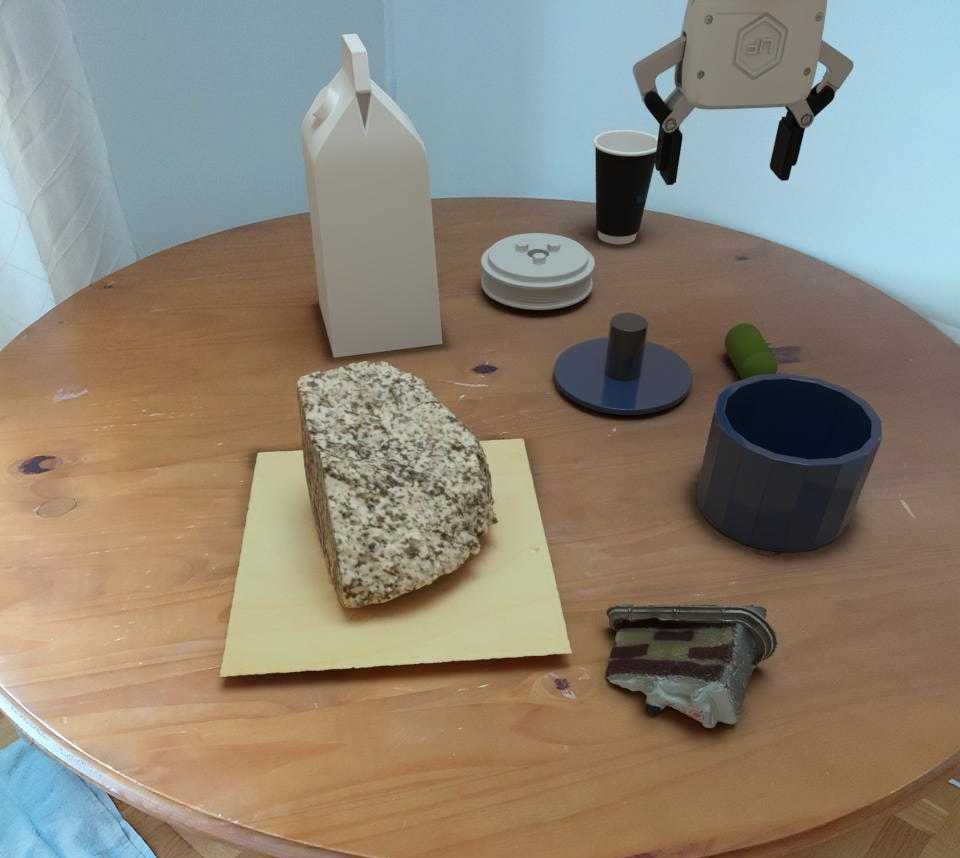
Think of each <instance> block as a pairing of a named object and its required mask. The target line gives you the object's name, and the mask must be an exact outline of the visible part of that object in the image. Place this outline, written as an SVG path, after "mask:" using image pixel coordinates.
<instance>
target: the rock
mask: <svg viewBox="0 0 960 858" xmlns="http://www.w3.org/2000/svg"><path fill="white" fill-rule="evenodd" d="M295 385H296V398H297V402H298V410H299V420H300V429H301V430H300V431H301V446H302V449H299V450H294V449H293V450H284V451H283V450H282V451H281V450H278V451H262V452H261V451H259V452H257V454H256V455H257V456H256V459H255V461H256V463H255V465H254V470H253V477H252V482H251V488H250V495H249V501H248V504H247V505H248V506H247V507H248V510H247V512H246V519H245V520H246V521H245V527H244V530H243V536H242V542H241V543H242V544H241V545H240V547H241V550H240V554H239V561H238V565H239V566H238V567H237V574H236V579H235V580H234V581H235V583H234V590H233V592H234V593H233V597H232V598H233V599H232V601H231V608H230V613H229V619H228V621H229V622H228V625H227V626H228V627H227V628H226V633H227V635H226V637H225V640H224V646H225V647H224V651H223V655H222V662H221V666H220V670H219V678H223V677H226V678H227V677H238V676H248V675H251V676H252V675H266V674H276V673H279V674H281V673H283V674H286V673H288V674H289V673H295V672H297V673H300V672H306V671H313V672H314V671H316V672H318V671H325V670H327V671H329V670H338V669H339V670H343V669H344V670H346V669H352V668H354V669H361V668H372V667H379V666H380V667H382V666H385V667H386V666H401V665H402V666H404V665H415V664H416V665H418V664H419V665H420V664H434V663H435V664H436V663H443V662H444V663H448V662H452V661H455V662H460V661H477V660H490V659H505V658H519V657H520V658H523V657H533V656H536V657H540V656H548V655H555V654H556V655H564V654H567V655H568V654H573V652H572V649H571V646H570V644H571V641H570V640H569V639H568V638H569V636H568V631H567V626H566V624H567V623H566V621H565V619H564V618H565V616H564V615H563V609H562V604H561V603H562V601H561V600H560V599H561V597H560V593H559V589H557V588H558V586H557V581H556V578H555V576H556V575H555V573H554V568H553V563H552V561H551V560H552V557H551V555H550V552H549V545H548V541H547V538H546V534H545V532H546V530H544V528H545V527H544V526H543V525H544V524H543V519H542V517H541V516H542V514H541V510H540V509H539V502H538V497H537V493H536V488H535V487H534V486H535V484H534V480H533V474H532V470H531V466H530V462H529V458H528V454H527V453H528V452H527V447H526V445H525V444H526V442H525V440H524V439H523V437H522V438H509V439H505V438H504V439H489V440H479V439H478V438H477V437H476V436H475V435H474V434H473V433H472V432H471V431H470V429H468V427H466V425H465V424H464V422H462V421H461V420H460V419H459V418H458V417H457V416H456V415H455V414H454V413H453V411H451V410H450V409H449V408H447V407H446V406H445V405H444V404H443V403H442V402H441V401H438V400H437V396H436V395H435V394H434V393H433V390H432V388H430V387H429V386H428V385H427V384H426V382H425V380H424V379H423V378H422V377H420V376H418V375H417V374H414V373H412V372H409V371H403V370H400V368H397V367H394V366H393V365H392V364H391V362H387V361H382V360H381V361H376V362H374V361H373V362H371V361H369V360H364V361H357V362H352V363H349V364H346V365H340V367H337V368H334V369H333V368H332V369H327V370H324V371H320V370H318V371H314V372H311V373H308V374H306V375H303V376H302V375H301V376H300V377H299V378H298V379H297V380H296V382H295Z"/></svg>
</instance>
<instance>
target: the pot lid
mask: <svg viewBox="0 0 960 858" xmlns="http://www.w3.org/2000/svg"><path fill="white" fill-rule="evenodd" d="M608 327H609V328H608V335H607V337H599V338H592V339H588V340H585V341H582V342H578V343H576V344H573V345H571V346H570V347H568V348H567V349H565V350H564V351H562V352H561V353H560V355H559V356H558V357H557V358H556V360H555V362H554V365H553V380H554V383H555V385H556V387H557V388H558V390H559V391H560V392H561V393H562V394H563V395H564V396H565V397H567V398H568V399H569V400H571V401H573V402H574V403H576V404H578V405H580V406H582V407H584V408H587V409H590V410H593V411H597V412H600V413H605V414H610V415H621V416H639V415H647V414H648V415H649V414H654V413H658V412H661V411H665V410H668V409H670V408H672V407H674V406H676V405H677V404H679V403H681V402H682V401H683V400H684V399H685V398H686V397H687V395H688V394H689V393H690V390H691V388H692V384H693V372H692V369H691V367H690V365H689V364H688V363H687V361H686V360H685V359H684V358H682V356H680V355H679V354H678V353H676V352H675V351H673V350H671V349H669V348H668V347H665V346H663V345H661V344H658V343H655V342H651V341H648V340H647V338H648V337H647V336H648V329H649V320H648V319H647V318H646V317H644V316H643V315H641V314H638V313H633V312H621V313H618V314H615V315H613V316H612V317H611V318H610V320H609V326H608Z"/></svg>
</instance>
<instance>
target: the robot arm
mask: <svg viewBox="0 0 960 858" xmlns="http://www.w3.org/2000/svg"><path fill="white" fill-rule="evenodd" d="M827 7H828V0H687V3H686V8H685V10H684V11H685V12H684V15H683V21H682V25H681V30H680V35H679V37H677V38H675V39H673V40H672V41H671V42H669V43H667V44H666V45H664V46H662V47H660V48H659V49H657V50H655V51H654V52H652V53H651V54H649V55H647V56H645V57H644V58H642V59H641V60H639V61H637V62H636V63H635V64H633V66H632V69H631V70H632V76H633V78H634V80H635V84H636V87H637V90H638V92H639V95H640V98H641V101H642V103H643V104H644V106H645V108H646V109H647V110H648V111H649V113H650V115H652V117H653V118H654V119H655V120H656V122H657V123H658V124H659V127H658V135H657V138H658V141H657V149H656V157H655V165H654V169H655V170H656V172H659V175H660V177H661V178H662V180H663V181H664V183H665V185H666V186H673V185H674V184H676V183H677V176H678V171H679V166H680V165H679V164H680V157H681V150H682V144H683V133H682V131H681V129H680V125H681V124H682V123H683V122H684V121H685V120H686V119H687V118H688V116H689V115H690V114H691V113H692V112H693V111H694V109H699V110H741V109H743V110H745V109H771V108H784V109H785V110H786V113H785V116H781V119H780V120H779V121H778V125H777V129H776V134H775V139H774V143H773V148H772V153H771V157H770V162H769V169H770V170H771V171H772V173H773V174H774V175H775V176H776V177H777V179H778V180H780V181H781V182H785V181H786V182H787V181H789V179H790V176H791V172H792V169H793V167H795V166H796V165H797V163H798V160H799V156H800V152H801V148H802V147H801V146H802V144H803V139H804V135H805V131H806V129H807V128H809V127H810V126H811V125H812V124H813V123H814V120H815V118H816V117H817V116H818V115H819V114H820V113H821V112H822V111H823V110H825V108H826V107H827V106H829V104H831V103H832V102H833V101H834V99H835V96H836V93H837V91H838V90H840V88H841V87H842V86H843V84H844V82H845V81H846V80H847V78H848V77H849V75H850V74H851V72H852V71H853V69H854V62H853V61H852V59H850V58H849V57H848V56H846V55H845V54H844V53H842V52H840V51H839V50H838V49H837V48H835V47H833V46H832V45H830V44H829V43H828V42H826V41H825V40H824V39H823V35H824V28H825V23H826V15H827ZM818 63H819V64H821V65H823V66H825V72H824V74H823V76H822V78H821V80H820V81H819V82H817V83H816V84H815V85H814V81H815V77H816V73H817V69H818ZM673 67H674V85H675V87H674V89H673V90H672V92H670V94H669V95H668V96H667V97H666V99H665V100H664V99H663V98H662V97H661V96H660V94H659V91H658V88H657V85H656V80H657V77H658V76H660V75H661V74H663V73H665V72H666V71H668V70H669V69H671V68H673Z"/></svg>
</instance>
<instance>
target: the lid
mask: <svg viewBox="0 0 960 858" xmlns="http://www.w3.org/2000/svg"><path fill="white" fill-rule="evenodd" d="M480 263H481V265H480V266H481V268H482V270H483V274H482V276H481V280H480V284H481V288H482V291H483V292H484V293H485V294H486V295H487V296H488V297H489V298H491V299H492V300H494V301H496V302H497V303H500V304H503V305H505V306H509V307H511V308H517V309H522V310H532V311H545V310H556V309H562V308H567V307H569V306H573V305H575V304H578V303H580V302H581V301H583V300H584V299H586V298H587V297H588V296H589V295H590V294H591V292H592V290H593V285H594V282H593V279H592V274H593V272H594V270H595V263H596V261H595V258H594V256H593V255H592V253H591V252H590V251H588V250H587V249H586V248H585V247H584V246H583V245H582V244H581V243H579V242H578V241H576V240H575V239H572V238H569V237H567V236H563V235H559V234H552V233H546V232H545V233H543V232H542V233H541V232H527V233H519V234H514V235H511V236H507V237H505V238H504V237H503V238H502V239H500V240H498V241H496V242H495V243H494V244H493V245H491V246H490V247H488V248H486V250H485V251H484V252H483V254H482V256H481V260H480Z"/></svg>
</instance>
